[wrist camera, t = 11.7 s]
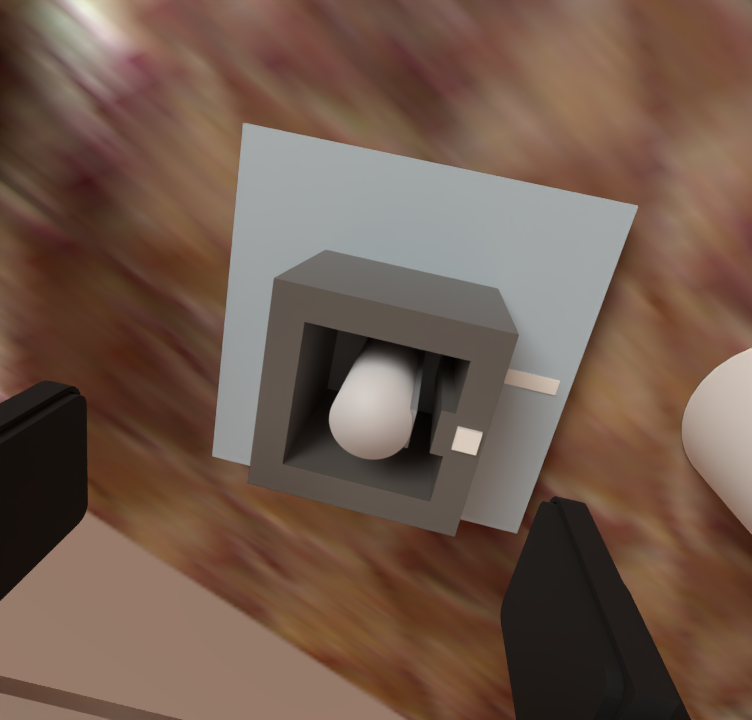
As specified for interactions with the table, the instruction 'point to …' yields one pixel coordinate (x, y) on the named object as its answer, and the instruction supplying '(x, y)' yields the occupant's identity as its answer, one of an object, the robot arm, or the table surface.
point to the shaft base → (428, 254)
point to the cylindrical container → (724, 433)
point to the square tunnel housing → (314, 400)
